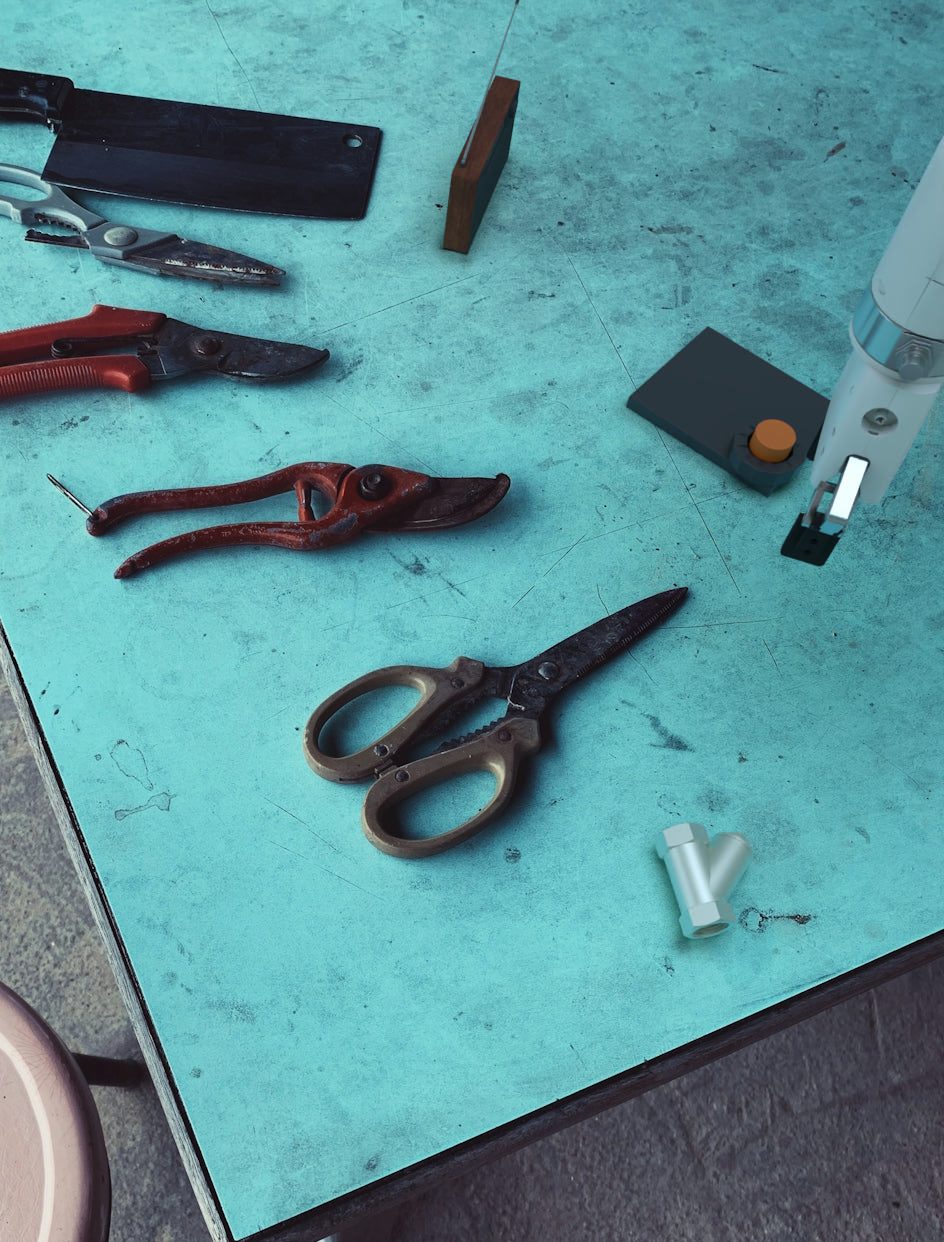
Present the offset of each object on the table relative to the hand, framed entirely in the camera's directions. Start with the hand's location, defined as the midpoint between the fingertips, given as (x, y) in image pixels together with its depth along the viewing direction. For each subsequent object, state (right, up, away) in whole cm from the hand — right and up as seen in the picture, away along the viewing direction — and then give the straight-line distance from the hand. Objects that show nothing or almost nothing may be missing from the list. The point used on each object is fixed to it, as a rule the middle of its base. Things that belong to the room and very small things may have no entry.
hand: (814, 508), depth 88 cm
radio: (-20, +42, +38) cm, 61 cm away
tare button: (+4, +10, +20) cm, 23 cm away
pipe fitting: (-7, -28, +3) cm, 29 cm away
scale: (+2, +15, +25) cm, 30 cm away
